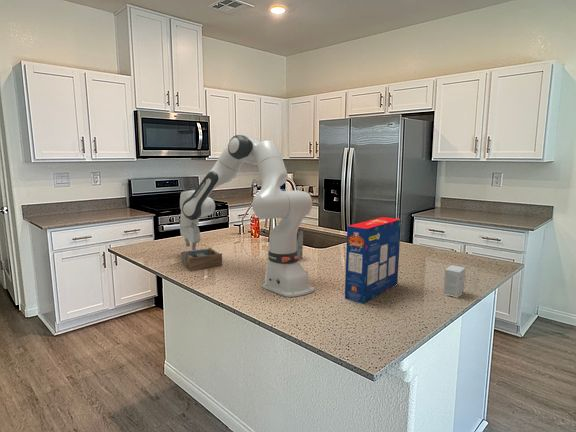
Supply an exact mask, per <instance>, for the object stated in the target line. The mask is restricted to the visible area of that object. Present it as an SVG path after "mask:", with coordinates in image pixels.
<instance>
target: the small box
mask: <svg viewBox="0 0 576 432" xmlns="http://www.w3.org/2000/svg"><path fill="white" fill-rule="evenodd" d="M465 276H466V267H463V266H460V265H459V266H458V265H453V264H450V266H448V267H447V268H446V269H445V270H444V282H443V293H444V294H449V295H454V296H459V295H460V294H461V293H462V292H463V293H464V289H465V278H466V277H465ZM443 293H442V294H443ZM463 293H462V294H463ZM462 294H461V295H462ZM461 295H460V296H461ZM460 296H459V297H460Z"/></svg>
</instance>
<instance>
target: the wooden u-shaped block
mask: <svg viewBox="0 0 576 432" xmlns="http://www.w3.org/2000/svg"><path fill="white" fill-rule="evenodd" d="M209 248H210V249H208V248H207V249H208V255H206V256H199V257H192V256H190V255H189V254H187V253H186V252H183V251H182V252H183V262H182V264H183V265H184V266H185V267H186V268H188V270H189V271H190V272H193V271H194V272H195V271H201V270H205V269H213V268H218V267H223V253H220V252H218V251H216V250H214V249H213V248H212V247H209Z"/></svg>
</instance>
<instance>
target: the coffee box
mask: <svg viewBox="0 0 576 432" xmlns="http://www.w3.org/2000/svg"><path fill="white" fill-rule="evenodd" d="M303 242H304V228H300V227H299V228H298V231H297V239H296V251H297V254H298V256H299V257H298V258H299V261H301V260H302V259H303V255H304V254H303V247H304V246H303V245H304V243H303ZM301 258H302V259H301ZM300 259H301V260H300Z"/></svg>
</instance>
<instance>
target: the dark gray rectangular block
mask: <svg viewBox="0 0 576 432" xmlns="http://www.w3.org/2000/svg"><path fill="white" fill-rule="evenodd" d="M199 256H206V255H205V254H203V253H198V254H194V257H199Z"/></svg>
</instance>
